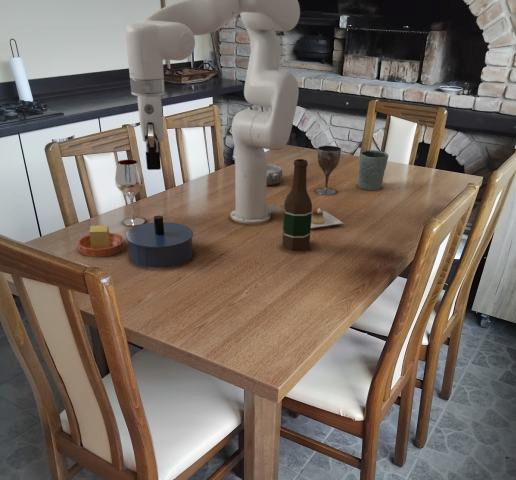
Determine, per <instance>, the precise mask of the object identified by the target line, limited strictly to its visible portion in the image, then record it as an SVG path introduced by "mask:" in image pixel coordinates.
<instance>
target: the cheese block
mask: <svg viewBox="0 0 516 480" xmlns="http://www.w3.org/2000/svg"><path fill="white" fill-rule="evenodd" d="M109 233H110V228H109V225H108V224H106V225H104V224H103V225H90V227H89V231H88V235H89V234H90V241H91V247H92V249H104V248H109V247H110V246H111V242H110V235H109Z"/></svg>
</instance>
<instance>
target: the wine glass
mask: <svg viewBox="0 0 516 480" xmlns="http://www.w3.org/2000/svg"><path fill="white" fill-rule="evenodd" d="M341 154H342V148H340V147H339V146H335V145H321V146H319V147H318V148H317V163H318V166H319V167H320V170H322V172H323V174H324V177H325V178H324V179H325V182H324V183H325V185H324V187H323V188H322V187H321V188H318V189H316V190H315V192H316V193H317V194H319V195H324V196H325V195H326V196H328V195H330V196H331V195H335V194H336V192H337V191H336V190H334V189H332V188H328V185H329V184H328V183H329V179H330V175H331V174H332V172H333V171H335V169H336V168H337V167H338V165H339V163H340V161H341V156H342V155H341Z"/></svg>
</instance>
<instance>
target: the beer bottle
mask: <svg viewBox="0 0 516 480" xmlns="http://www.w3.org/2000/svg"><path fill="white" fill-rule="evenodd" d="M293 166H294V168H293V175H292V184H291V189H290V191H289V193H288V194H287V195H286V197H285V200H284V204H283V218H282V235H281V236H282V239H281V241H282V248H283V249H284V250H287V251H291V252H304V251H306V250H308V249H310V241H311V230H312V229H311V218H312V212H313V203H312V200H311V197H310V195H309V194H308V189H307V175H308V173H307V171H308V170H307V169H308V168H307V167H308V166H309V164H308V160H307V159H304V158H297V159H294V161H293Z"/></svg>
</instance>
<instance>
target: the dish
mask: <svg viewBox="0 0 516 480" xmlns="http://www.w3.org/2000/svg"><path fill="white" fill-rule="evenodd" d="M282 179H283V169H282V167H281V166H279V165H275V164H273V163H267V185H266V186H273V185H277V184H280V183H281V181H282Z"/></svg>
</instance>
